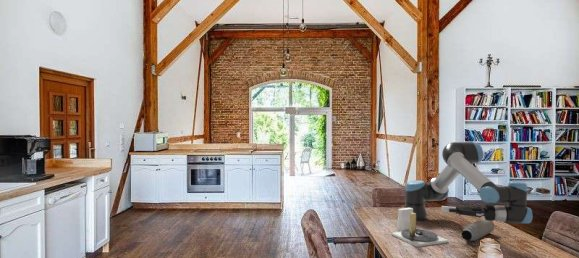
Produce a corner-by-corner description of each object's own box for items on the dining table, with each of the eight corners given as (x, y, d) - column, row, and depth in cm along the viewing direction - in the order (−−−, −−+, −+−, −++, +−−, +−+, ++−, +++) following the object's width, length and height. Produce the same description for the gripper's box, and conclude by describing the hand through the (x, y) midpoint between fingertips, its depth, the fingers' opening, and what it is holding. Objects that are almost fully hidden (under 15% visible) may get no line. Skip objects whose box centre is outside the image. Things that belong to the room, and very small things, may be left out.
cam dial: (411, 229, 206) (412, 205, 206) (443, 236, 193) (444, 211, 193) (394, 235, 194) (395, 210, 194) (427, 243, 181) (427, 217, 181)
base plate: (391, 235, 199) (391, 229, 199) (421, 231, 207) (421, 225, 207) (416, 246, 181) (416, 240, 181) (448, 242, 188) (448, 236, 188)
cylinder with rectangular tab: (405, 232, 204) (405, 211, 204) (393, 228, 212) (394, 207, 212) (417, 230, 208) (417, 209, 208) (405, 226, 216) (405, 206, 216)
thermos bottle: (476, 220, 210) (455, 229, 191) (490, 216, 205) (469, 225, 186) (483, 234, 207) (462, 245, 189) (497, 230, 202) (477, 241, 183)
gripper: (497, 224, 172) (443, 219, 178) (490, 217, 184) (440, 213, 191) (498, 208, 171) (443, 204, 178) (491, 202, 184) (440, 198, 190)
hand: (441, 209), depth 184 cm, fingers closed
